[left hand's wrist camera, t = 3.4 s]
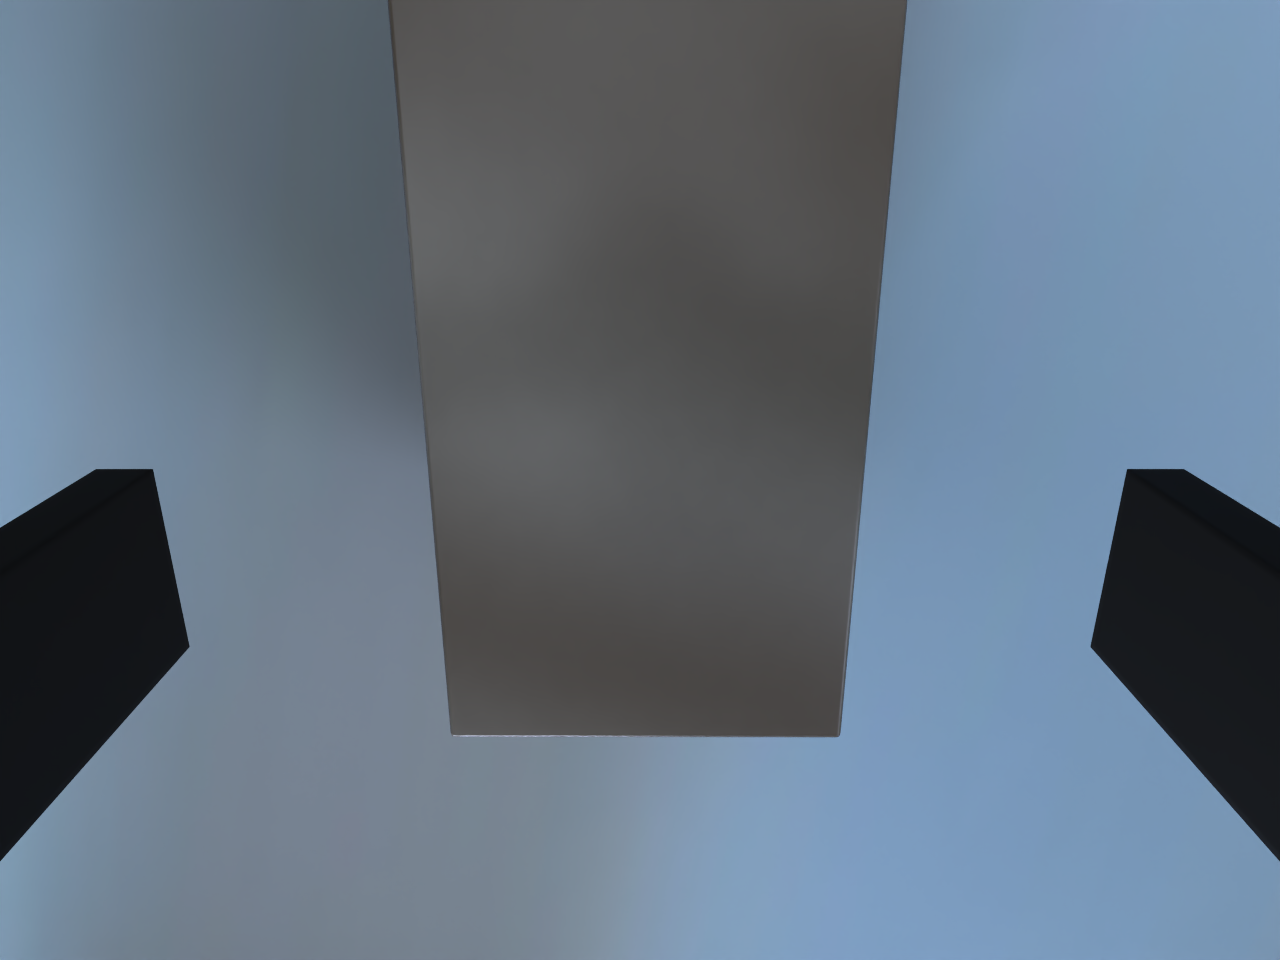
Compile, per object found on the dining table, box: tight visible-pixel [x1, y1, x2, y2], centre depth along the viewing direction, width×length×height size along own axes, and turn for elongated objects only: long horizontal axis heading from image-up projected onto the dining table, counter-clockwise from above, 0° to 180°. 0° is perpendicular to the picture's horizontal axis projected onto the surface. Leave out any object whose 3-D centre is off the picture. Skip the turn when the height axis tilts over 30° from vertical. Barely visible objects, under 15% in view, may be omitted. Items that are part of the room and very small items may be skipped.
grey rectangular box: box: [388, 0, 907, 737], centre depth 17 cm, size 21×6×12 cm, turn 0°
